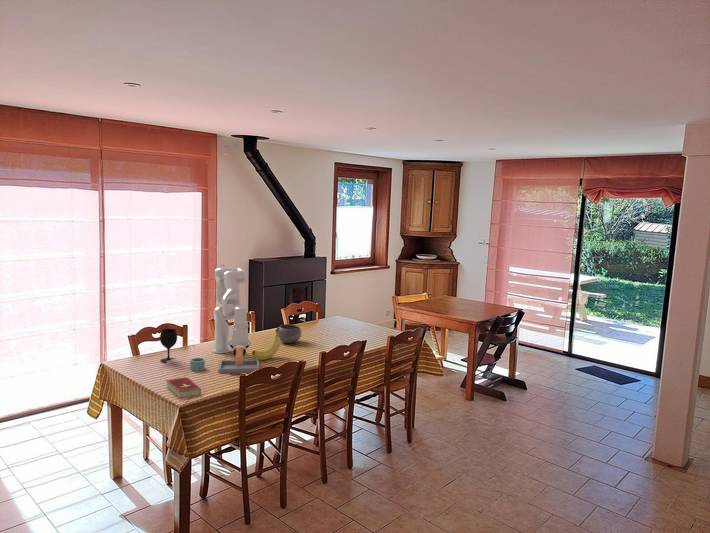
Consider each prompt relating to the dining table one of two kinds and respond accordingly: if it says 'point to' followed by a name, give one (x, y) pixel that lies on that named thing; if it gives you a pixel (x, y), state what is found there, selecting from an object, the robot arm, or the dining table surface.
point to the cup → (197, 364)
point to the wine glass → (168, 341)
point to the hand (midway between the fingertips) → (239, 355)
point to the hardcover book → (183, 387)
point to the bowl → (289, 333)
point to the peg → (239, 356)
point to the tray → (230, 367)
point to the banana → (268, 349)
